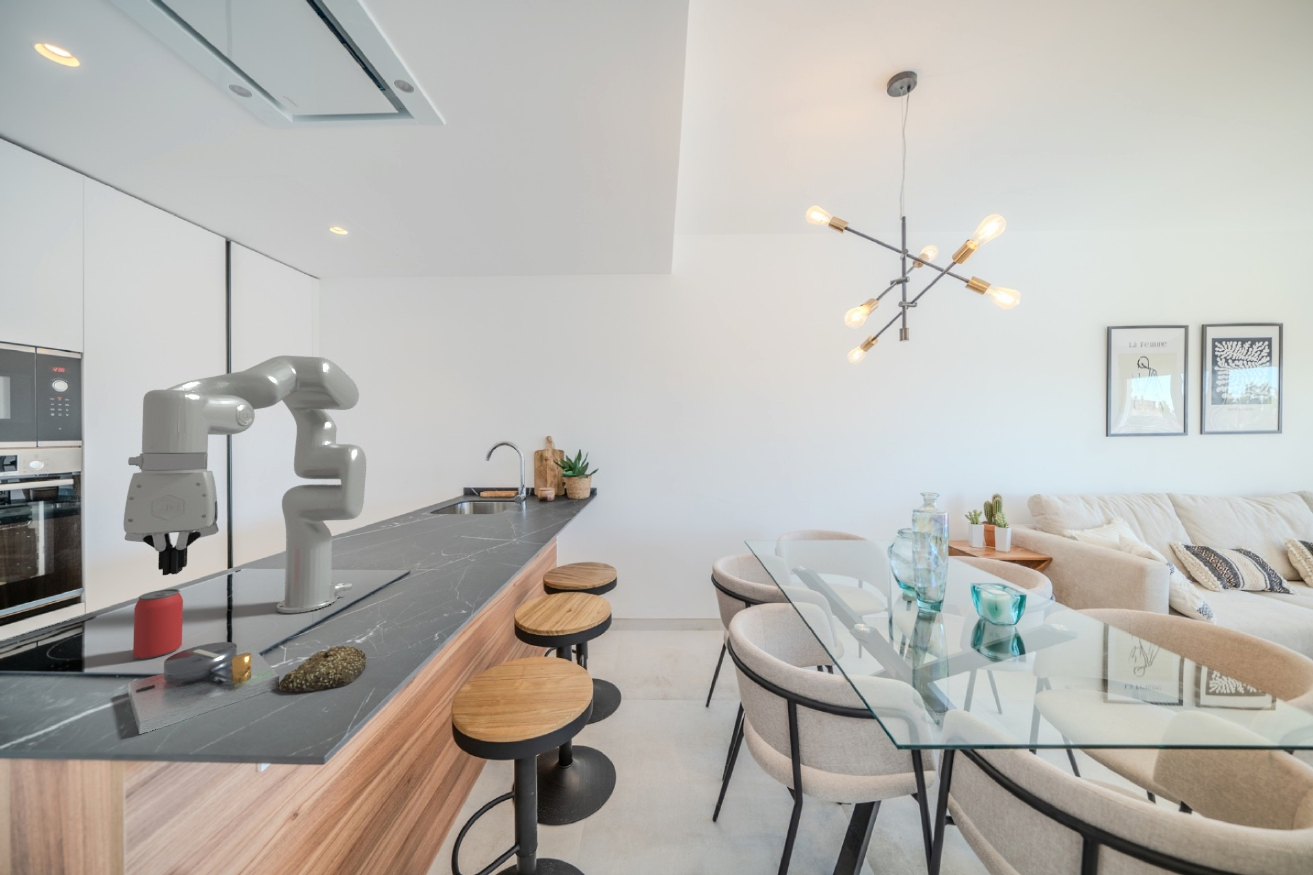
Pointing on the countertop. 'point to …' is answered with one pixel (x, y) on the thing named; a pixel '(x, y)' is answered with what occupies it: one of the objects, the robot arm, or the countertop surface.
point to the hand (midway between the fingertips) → (172, 572)
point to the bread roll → (326, 670)
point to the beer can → (158, 623)
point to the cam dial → (208, 663)
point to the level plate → (194, 694)
